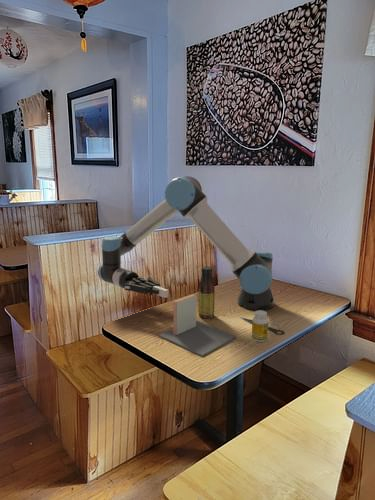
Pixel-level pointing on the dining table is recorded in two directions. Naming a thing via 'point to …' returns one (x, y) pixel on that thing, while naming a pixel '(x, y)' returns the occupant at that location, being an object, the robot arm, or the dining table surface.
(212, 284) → the sauce bottle
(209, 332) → the rubber mat
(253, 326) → the supplement bottle
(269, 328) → the throwing knife
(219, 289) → the dining table surface
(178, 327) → the terracotta tile
